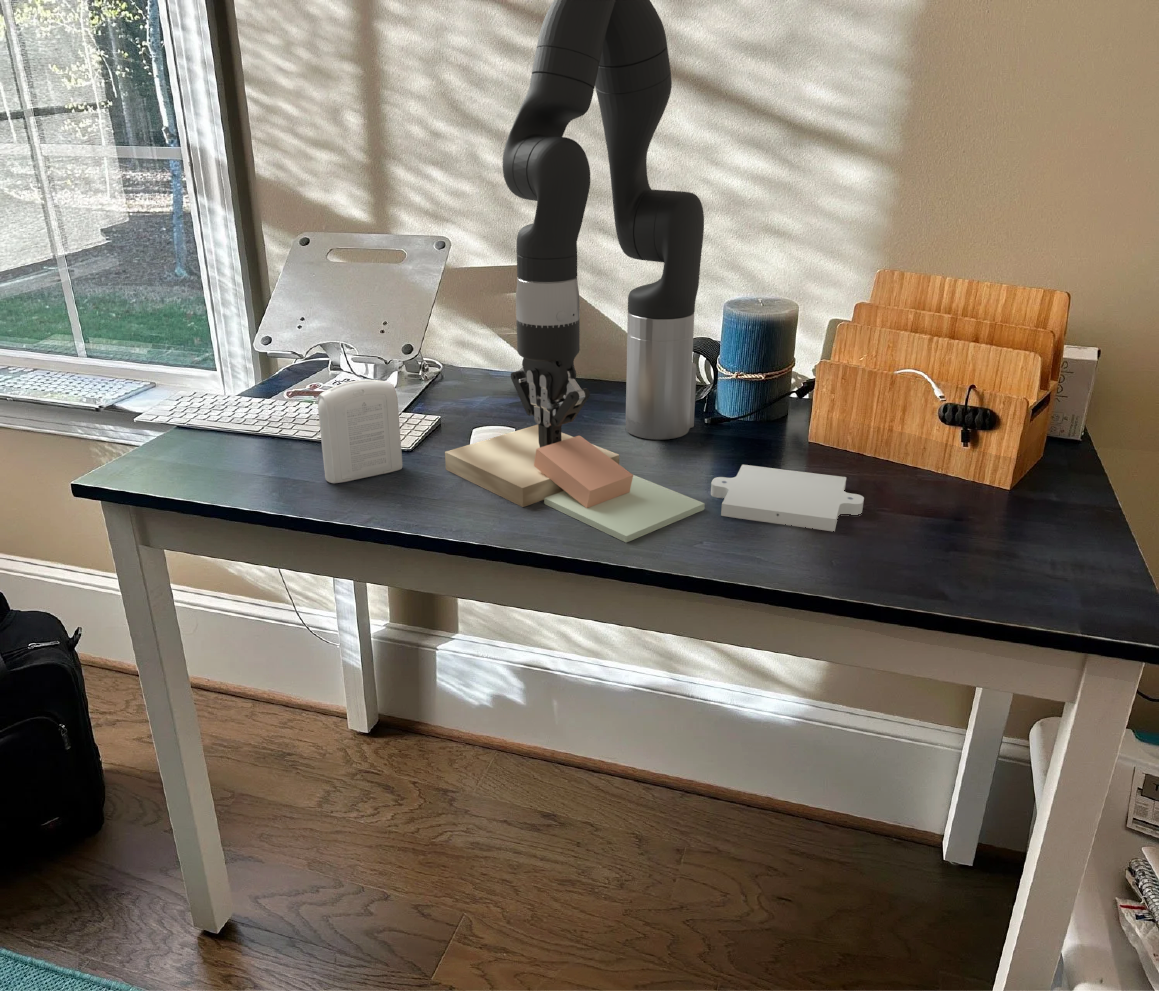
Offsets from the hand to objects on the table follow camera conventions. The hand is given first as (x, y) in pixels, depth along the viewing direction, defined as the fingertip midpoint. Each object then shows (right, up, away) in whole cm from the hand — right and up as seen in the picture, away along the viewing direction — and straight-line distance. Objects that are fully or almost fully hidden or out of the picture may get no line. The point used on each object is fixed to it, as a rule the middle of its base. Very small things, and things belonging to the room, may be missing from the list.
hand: (550, 451), depth 120 cm
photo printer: (-24, -3, +4) cm, 25 cm away
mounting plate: (+29, -7, -5) cm, 30 cm away
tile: (+4, -3, -4) cm, 6 cm away
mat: (+9, -7, -6) cm, 13 cm away
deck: (-2, -2, +4) cm, 5 cm away
